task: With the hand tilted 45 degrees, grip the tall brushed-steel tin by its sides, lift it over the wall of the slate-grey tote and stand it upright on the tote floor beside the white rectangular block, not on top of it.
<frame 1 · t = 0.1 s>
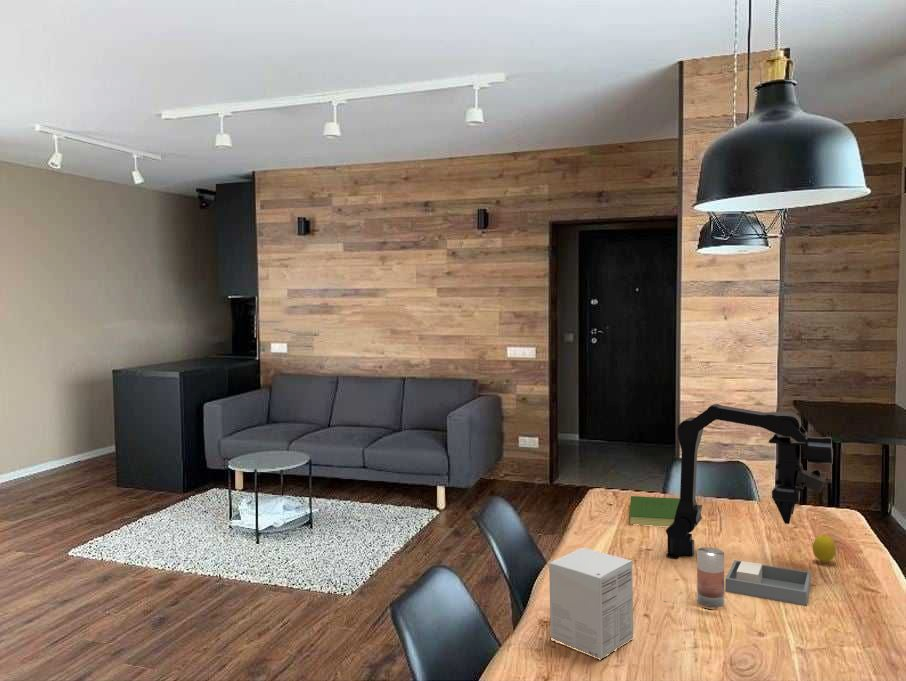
hand: (788, 518, 185), 15 cm above the table, tool pointing down, fingers open, 9 cm apart
steel tin: (710, 605, 167), on the table
lemon: (824, 563, 192), on the table
supplement box: (592, 641, 151), on the table
hardcover book: (658, 518, 238), on the table
tote: (768, 590, 174), on the table
white rectangular block: (749, 583, 177), point 1 cm above the table, touching tote
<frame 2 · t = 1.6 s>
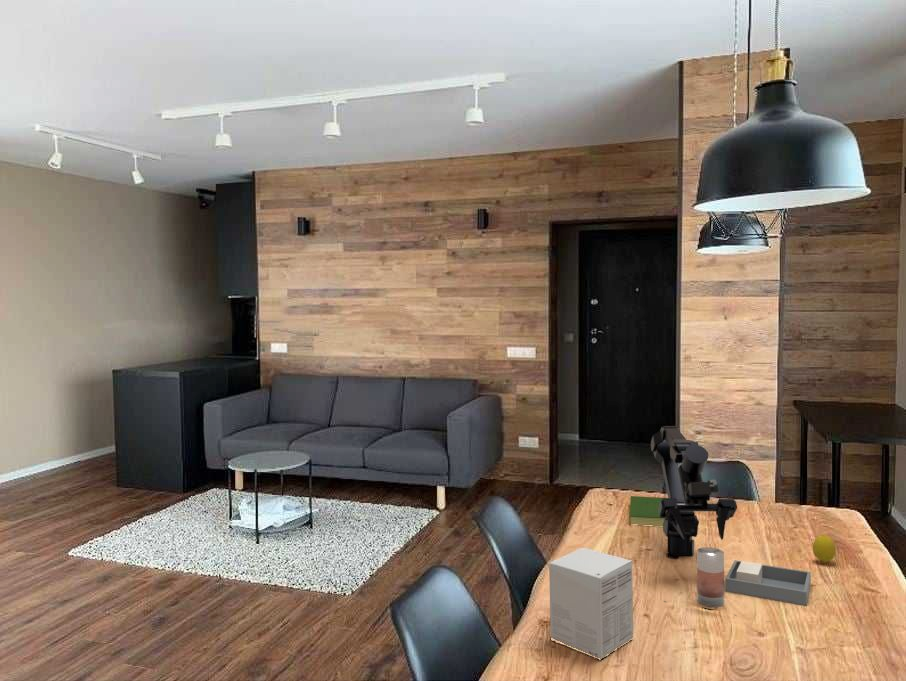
hand: (703, 538, 174), 13 cm above the table, tool tilted 45°, fingers open, 9 cm apart
nothing on the table moved.
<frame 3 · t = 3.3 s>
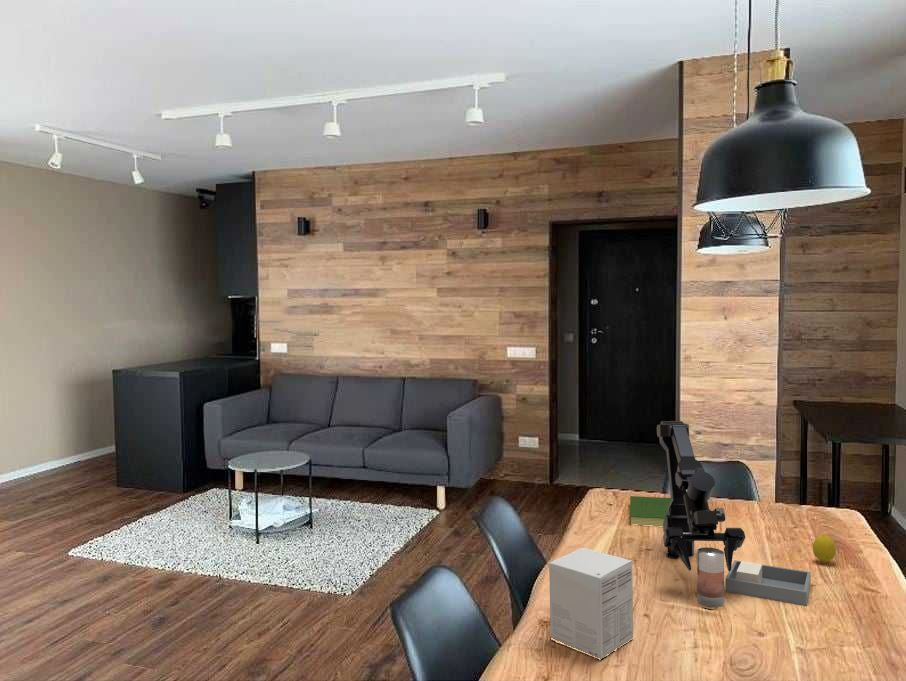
hand: (709, 570, 167), 8 cm above the table, tool tilted 45°, fingers open, 9 cm apart
nothing on the table moved.
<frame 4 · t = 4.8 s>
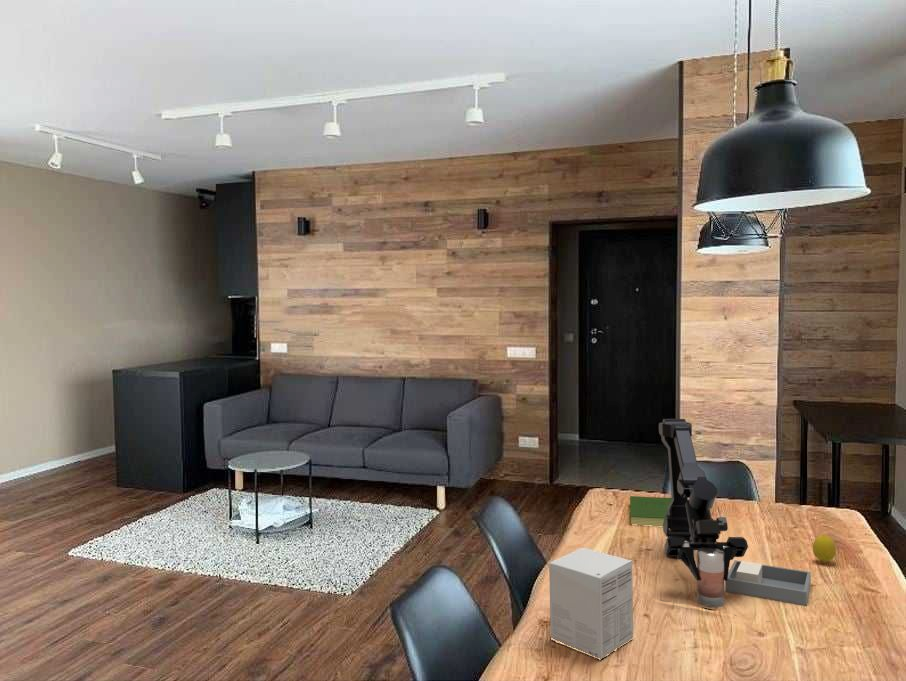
hand: (712, 580, 165), 7 cm above the table, tool tilted 45°, fingers closed on steel tin, 6 cm apart
steel tin: (710, 605, 167), on the table, touching gripper
everything else where it was.
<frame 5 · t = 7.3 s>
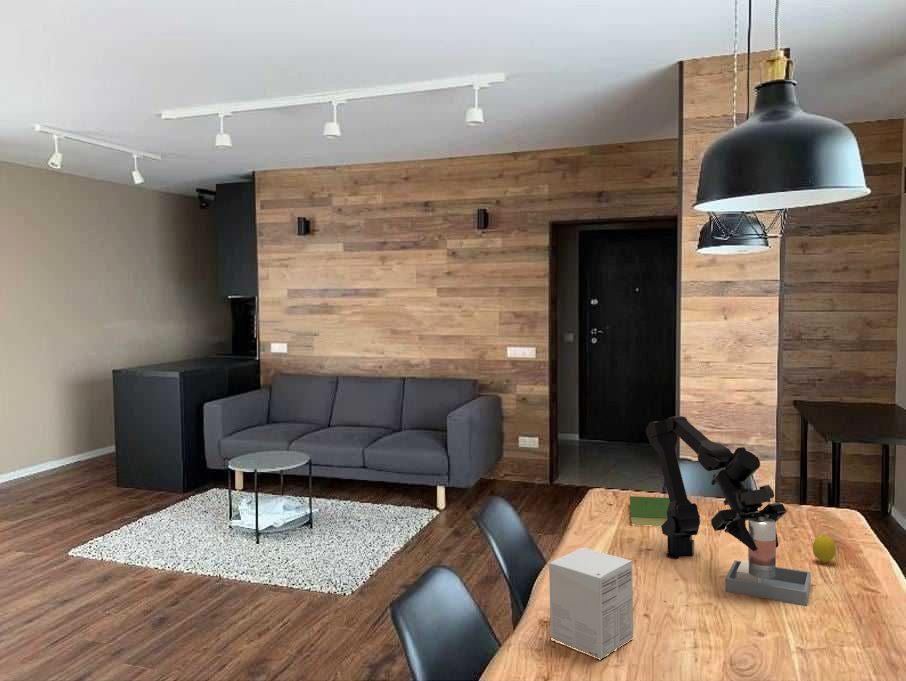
hand: (766, 548, 167), 13 cm above the table, tool tilted 45°, fingers closed on steel tin, 6 cm apart
steel tin: (761, 573, 168), point 7 cm above the table, touching gripper
everything else where it was.
when the fingers open (9 cm above the table, at t = 9.9 s): steel tin drops 1 cm, resting on tote.
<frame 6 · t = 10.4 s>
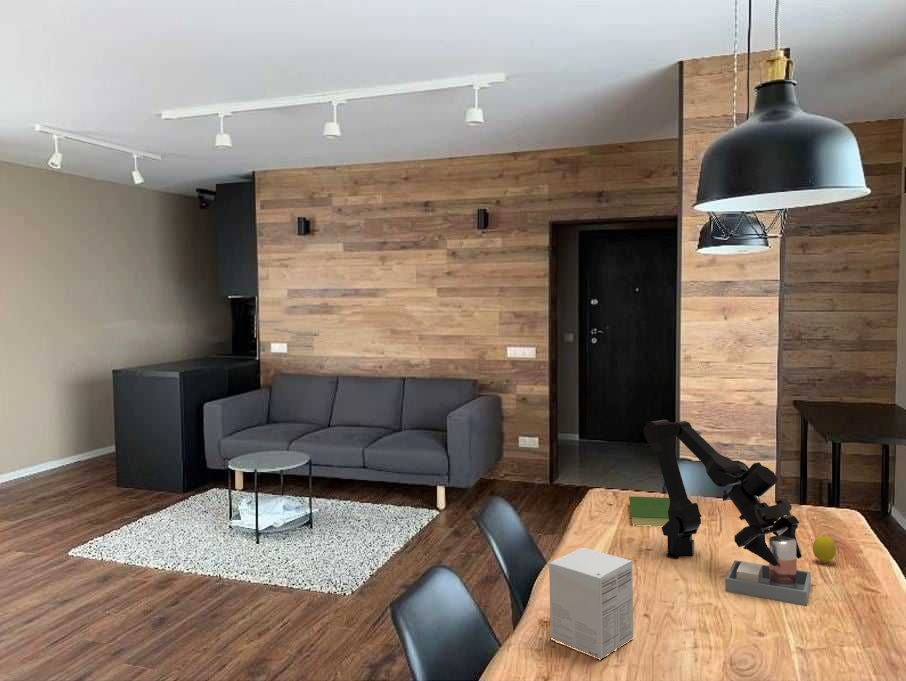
hand: (788, 561, 170), 9 cm above the table, tool tilted 45°, fingers open, 9 cm apart
steel tin: (782, 591, 172), point 1 cm above the table, touching tote
everything else where it was.
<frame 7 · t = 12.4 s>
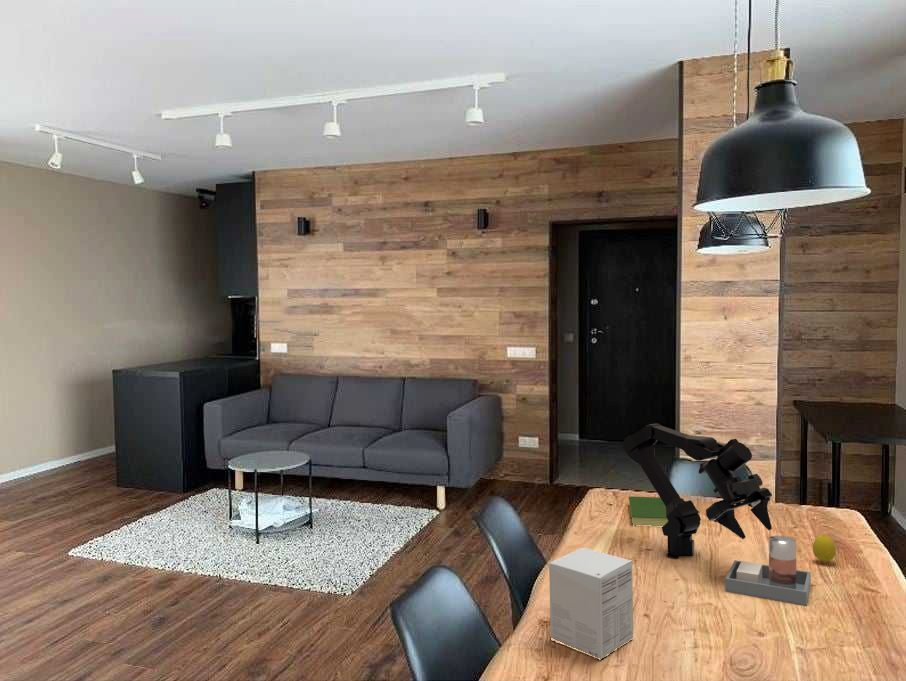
hand: (757, 533, 178), 13 cm above the table, tool tilted 40°, fingers open, 9 cm apart
nothing on the table moved.
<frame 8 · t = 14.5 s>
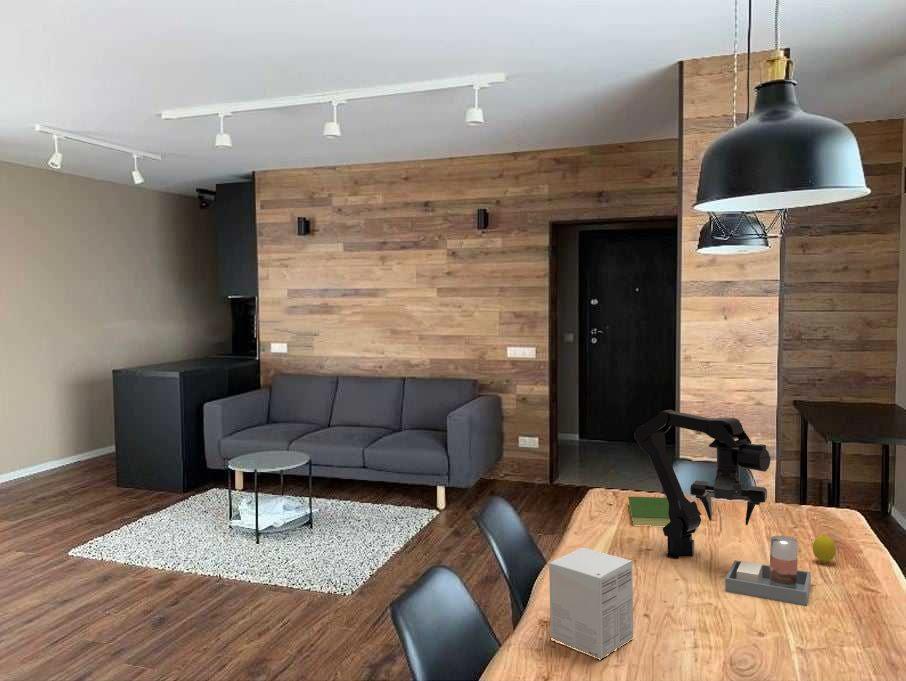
hand: (728, 522, 188), 13 cm above the table, tool pointing down, fingers open, 9 cm apart
nothing on the table moved.
at the end: steel tin inside the target area on the tote (1.4 cm from its centre), point 0.9 cm above the tote's base; steel tin tilted 2°; white rectangular block moved 0.0 cm from its start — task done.
